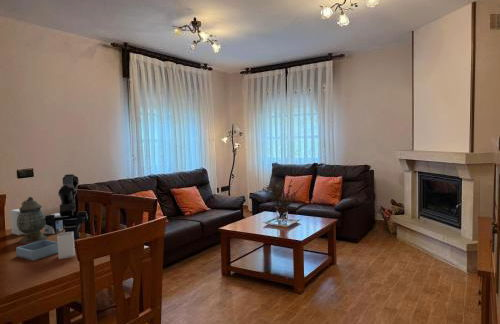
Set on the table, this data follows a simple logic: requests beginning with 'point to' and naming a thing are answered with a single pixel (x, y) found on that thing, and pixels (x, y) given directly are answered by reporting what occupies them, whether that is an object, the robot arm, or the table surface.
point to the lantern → (31, 221)
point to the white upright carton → (66, 245)
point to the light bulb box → (59, 226)
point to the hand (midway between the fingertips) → (66, 232)
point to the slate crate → (37, 250)
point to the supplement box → (15, 222)
